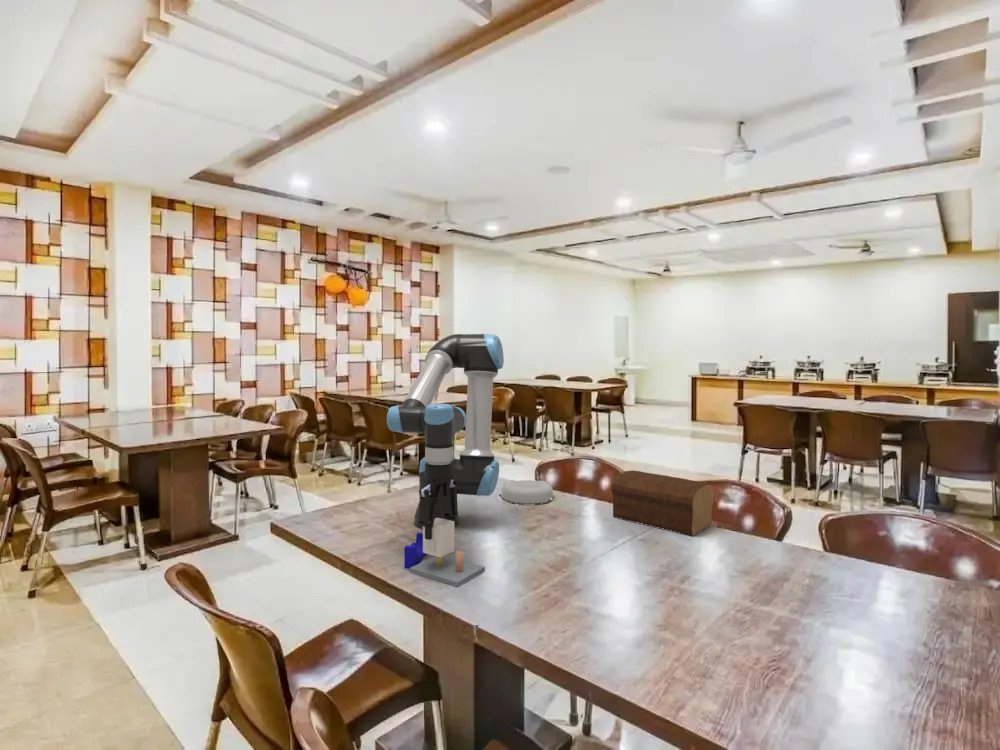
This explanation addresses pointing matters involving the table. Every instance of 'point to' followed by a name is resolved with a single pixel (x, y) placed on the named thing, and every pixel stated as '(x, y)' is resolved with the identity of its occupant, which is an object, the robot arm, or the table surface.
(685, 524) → the bread
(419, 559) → the blue arched piece
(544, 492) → the round ceiling alarm
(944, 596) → the table surface
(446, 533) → the cream rectangular block
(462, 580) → the board
